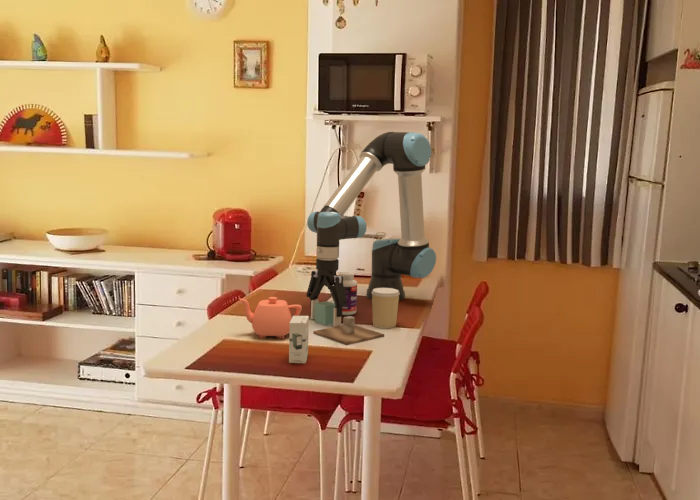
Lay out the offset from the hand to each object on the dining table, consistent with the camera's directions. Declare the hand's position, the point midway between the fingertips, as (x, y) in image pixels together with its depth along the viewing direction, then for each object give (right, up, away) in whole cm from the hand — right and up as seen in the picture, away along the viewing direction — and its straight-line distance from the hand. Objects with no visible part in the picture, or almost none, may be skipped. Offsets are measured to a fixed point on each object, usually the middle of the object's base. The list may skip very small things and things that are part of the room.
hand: (325, 322), depth 256 cm
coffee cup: (+20, -1, -1) cm, 20 cm away
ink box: (-6, -7, -40) cm, 41 cm away
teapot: (-17, -3, -16) cm, 24 cm away
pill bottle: (+7, +2, +14) cm, 15 cm away
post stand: (+8, -3, -14) cm, 16 cm away
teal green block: (0, 0, 0) cm, 0 cm away
